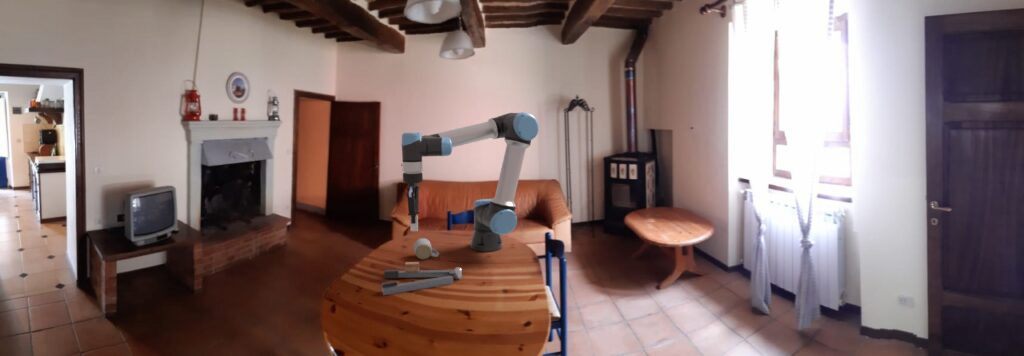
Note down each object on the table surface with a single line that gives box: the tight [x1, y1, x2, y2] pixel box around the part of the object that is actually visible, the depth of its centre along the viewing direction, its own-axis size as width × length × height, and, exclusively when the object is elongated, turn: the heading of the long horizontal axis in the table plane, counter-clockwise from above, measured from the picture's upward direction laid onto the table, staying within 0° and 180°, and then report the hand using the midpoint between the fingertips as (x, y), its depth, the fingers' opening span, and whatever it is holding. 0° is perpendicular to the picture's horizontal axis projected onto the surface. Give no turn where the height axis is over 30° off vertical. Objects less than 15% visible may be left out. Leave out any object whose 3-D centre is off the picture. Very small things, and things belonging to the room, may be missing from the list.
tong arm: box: [383, 261, 463, 280], centre depth 155 cm, size 29×6×5 cm, turn 93°
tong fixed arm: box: [381, 275, 454, 296], centre depth 146 cm, size 25×4×3 cm, turn 115°
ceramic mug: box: [413, 237, 440, 260], centre depth 178 cm, size 11×8×8 cm
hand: (414, 230), depth 161 cm, fingers closed
